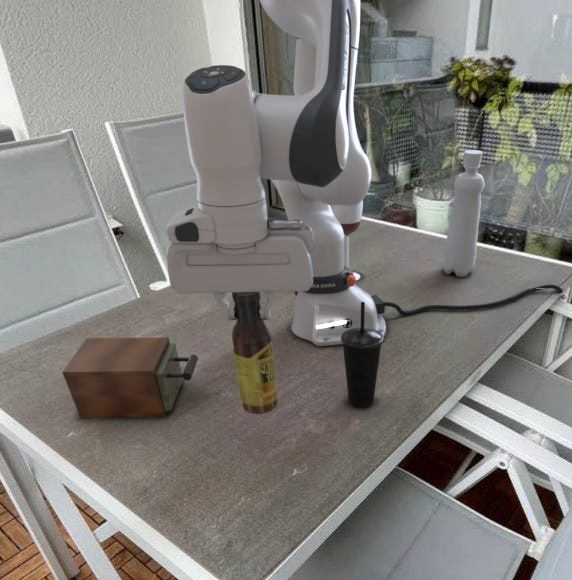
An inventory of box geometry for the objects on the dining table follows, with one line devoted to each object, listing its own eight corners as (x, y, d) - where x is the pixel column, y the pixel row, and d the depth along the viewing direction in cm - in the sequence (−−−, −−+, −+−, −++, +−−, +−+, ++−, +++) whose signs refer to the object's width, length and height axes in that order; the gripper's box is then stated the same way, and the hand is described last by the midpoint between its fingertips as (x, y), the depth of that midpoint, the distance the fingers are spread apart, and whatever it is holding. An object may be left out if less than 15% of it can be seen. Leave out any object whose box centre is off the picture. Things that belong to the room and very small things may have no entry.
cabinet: (179, 381, 112) (168, 337, 105) (165, 417, 103) (152, 371, 96) (101, 382, 112) (86, 337, 105) (80, 418, 102) (62, 372, 96)
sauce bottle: (272, 418, 90) (257, 302, 77) (236, 413, 91) (216, 298, 77) (283, 396, 95) (272, 283, 81) (249, 392, 96) (232, 280, 82)
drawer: (205, 378, 111) (198, 342, 106) (194, 410, 103) (186, 373, 97) (111, 379, 111) (99, 343, 105) (92, 411, 102) (78, 374, 97)
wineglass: (367, 274, 155) (369, 197, 142) (350, 284, 150) (351, 205, 136) (343, 268, 158) (343, 193, 145) (326, 278, 153) (324, 200, 140)
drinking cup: (340, 391, 109) (339, 294, 96) (377, 390, 110) (382, 293, 97) (342, 413, 104) (342, 312, 90) (382, 411, 104) (387, 311, 91)
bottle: (436, 273, 156) (449, 153, 136) (449, 263, 162) (463, 146, 142) (465, 280, 153) (483, 157, 133) (478, 270, 158) (497, 150, 138)
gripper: (313, 212, 75) (317, 308, 85) (164, 214, 75) (185, 310, 84) (312, 227, 71) (316, 326, 80) (153, 229, 70) (177, 329, 80)
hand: (248, 318), depth 82 cm, fingers closed on sauce bottle, 4 cm apart
